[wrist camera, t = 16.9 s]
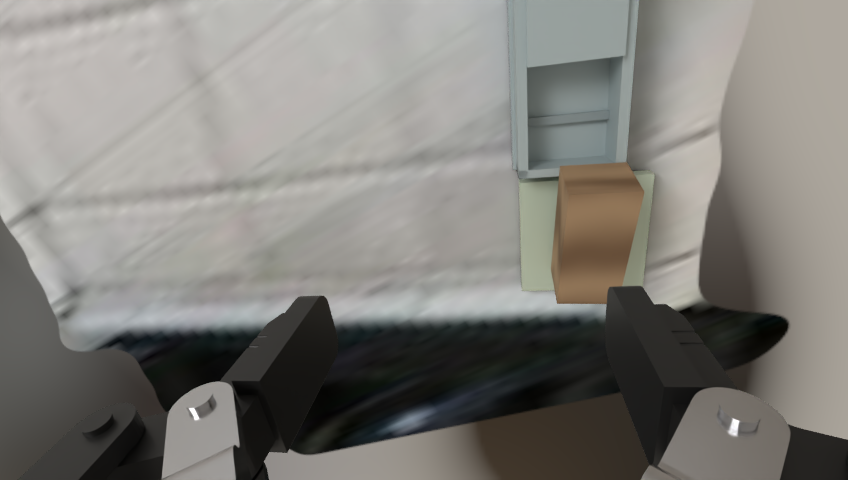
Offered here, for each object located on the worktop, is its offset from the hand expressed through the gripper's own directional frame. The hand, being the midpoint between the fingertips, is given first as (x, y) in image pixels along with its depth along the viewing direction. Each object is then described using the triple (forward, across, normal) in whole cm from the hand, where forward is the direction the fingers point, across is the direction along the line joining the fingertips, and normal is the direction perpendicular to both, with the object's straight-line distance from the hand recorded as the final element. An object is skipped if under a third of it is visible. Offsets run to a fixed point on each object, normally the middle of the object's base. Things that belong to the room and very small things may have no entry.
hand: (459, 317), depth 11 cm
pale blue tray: (+24, -7, -6) cm, 25 cm away
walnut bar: (+21, -8, +6) cm, 23 cm away
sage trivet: (+23, -8, +8) cm, 26 cm away
